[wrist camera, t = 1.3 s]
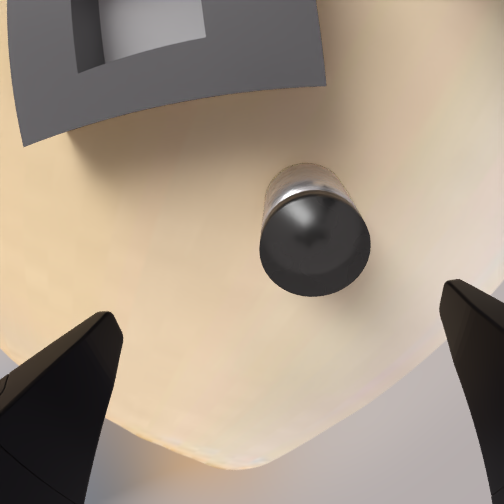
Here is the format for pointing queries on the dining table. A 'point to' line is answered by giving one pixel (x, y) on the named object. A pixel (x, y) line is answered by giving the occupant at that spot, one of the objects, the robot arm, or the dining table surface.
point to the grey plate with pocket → (151, 55)
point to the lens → (312, 232)
